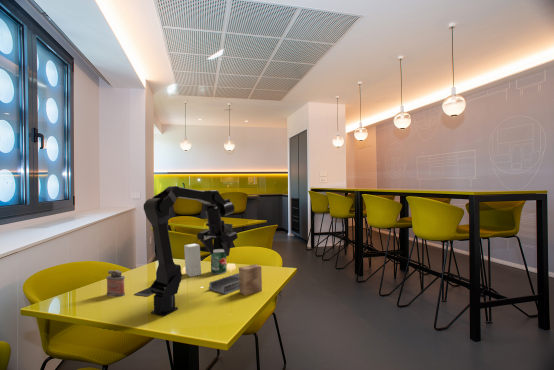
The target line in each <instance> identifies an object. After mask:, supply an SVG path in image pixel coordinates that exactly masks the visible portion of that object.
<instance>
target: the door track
mask: <svg viewBox="0 0 554 370" xmlns="http://www.w3.org/2000/svg"><path fill="white" fill-rule="evenodd" d="M208 285H209V286H208V290H209V291H213V292H215V293H219V294H222V295H224V296H225V295H228V294H230V293H233V292H235V291H239V272H238V273H234V274H232V275H228V276H225V277H222V278H218V279H216V280H213V281H210V282H209V283H208Z"/></svg>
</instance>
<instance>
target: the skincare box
mask: <svg viewBox="0 0 554 370" xmlns="http://www.w3.org/2000/svg"><path fill="white" fill-rule="evenodd" d="M183 249H184V268H185V274H186V275H187V276H189V277H190V278H191V277H197V275H198V276H201V275H202V265H201V264H202V263H201V246H200V244H198V243H191V244H190V243H189V244H185V245H184V246H183Z"/></svg>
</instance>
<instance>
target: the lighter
mask: <svg viewBox="0 0 554 370" xmlns="http://www.w3.org/2000/svg"><path fill="white" fill-rule="evenodd" d="M122 272H123V271H120V270H119V269H116V270H113V269H112V270H111V269H110V270H108V271H107V273H108V275H107V276H106V296H108V297H115V298H117V297H124V296H125V295H126V292H125V275H122Z"/></svg>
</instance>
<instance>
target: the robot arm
mask: <svg viewBox="0 0 554 370" xmlns="http://www.w3.org/2000/svg"><path fill="white" fill-rule="evenodd" d="M178 198H179V199H187V200H195V201H198V202H199V203H202V204H204V207H203V208H202V209H201V212H202V213H203V212H205V213H206V219H207V221H206V222H207V223H205V226H206V227H208V229H204V230H202V231H199V232H198V233H197V235H196V236H197V240H199V241H200V242H201V243H202V244H203V246H205V248H206V249H207V251H208V252H209V253H210V255H211V254H213V250H214V243H213V240H214V238H216V239H220V241H221V246H222V249H224V252H225V254H226V257H229V256H230V252H231V247H232V244H233V242H235V241H236V240H237V239H239V237H238V233H237V232H236V231H233V223H225V220H224V219H223V220H222V217H223V218H224V217H225V216H228V215H231V214H233V213H234V212H235V205H234V203H232V201H231V200H230V198H226V199H224V198H223V196H222V195H221V193H220V191H218V190H215V189H214V190H213V189H212V190H198V189H191V188H188V187H187V188H185V187H181V186H177V185H172V186H171V185H169V186H167V187H165V188H164V189H163V190H162V191H160V192H159V193H157V194H156V195H154V196H152V198H149V199H147V200H146V201H144V203H143V211H144V214H145V216H146V219H147V220H148V221H149V223H150V225H151V228H152V233H153V238H154V239H153V240H154V244H155V251H156V256H157V263H158V265H157V268H156V271H155V280H154V281H153V282H152V284H151V285H150V286H149V287H150V288H149V287H148V288H149V289H150V292H151V293H153V310H151V311H150V313H151V314H153V315H157V316H161V317H165V316H167V315H169V314H171V313H173V312H174V311H177V310H178V309H179V307H177V306H176V295H177V294H178V292H179V289H180V284H181V282H182V277H183V274H182V267H181V265H180V264H176V263H175V262H174V259H173V258H174V256H173V252H172V245H171V239H170V233H169V227H168V220H169V218H170V214H171V213H170V212H171V209H170V208H171V207H173V205H175V203H176V201H177V199H178ZM164 287H165V288H164Z"/></svg>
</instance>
